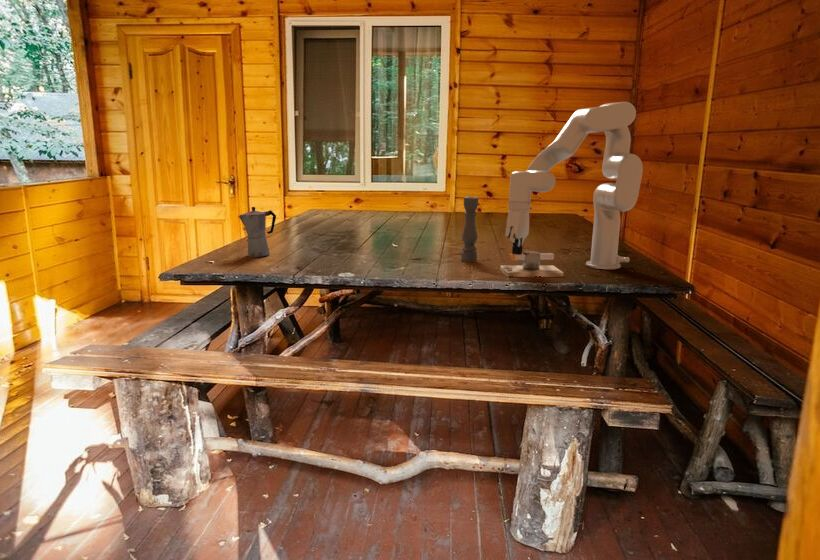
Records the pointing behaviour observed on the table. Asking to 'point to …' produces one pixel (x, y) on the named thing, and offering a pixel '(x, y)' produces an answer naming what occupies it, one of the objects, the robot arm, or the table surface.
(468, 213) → the candle holder
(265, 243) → the moka pot
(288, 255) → the table surface
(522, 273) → the stand
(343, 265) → the table surface
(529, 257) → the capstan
